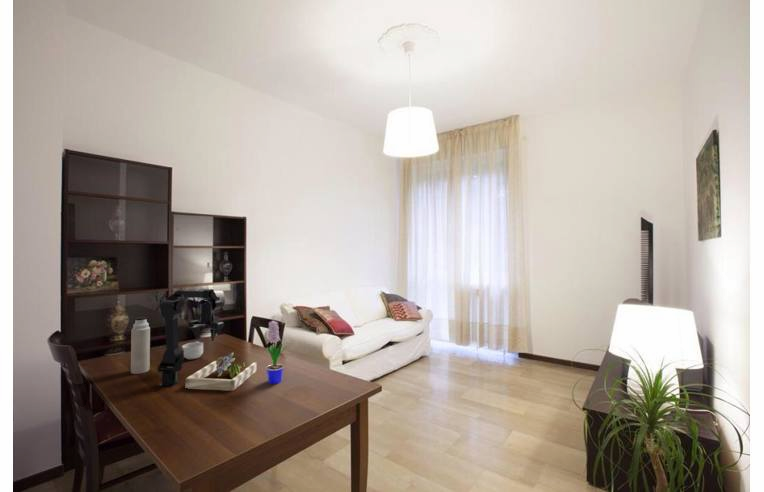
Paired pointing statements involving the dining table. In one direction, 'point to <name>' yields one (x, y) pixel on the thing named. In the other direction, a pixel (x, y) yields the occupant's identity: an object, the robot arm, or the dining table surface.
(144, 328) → the thermos bottle
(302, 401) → the dining table surface
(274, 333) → the hyacinth
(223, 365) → the passion flower
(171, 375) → the robot arm
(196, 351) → the teacup
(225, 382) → the pale wooden open frame
